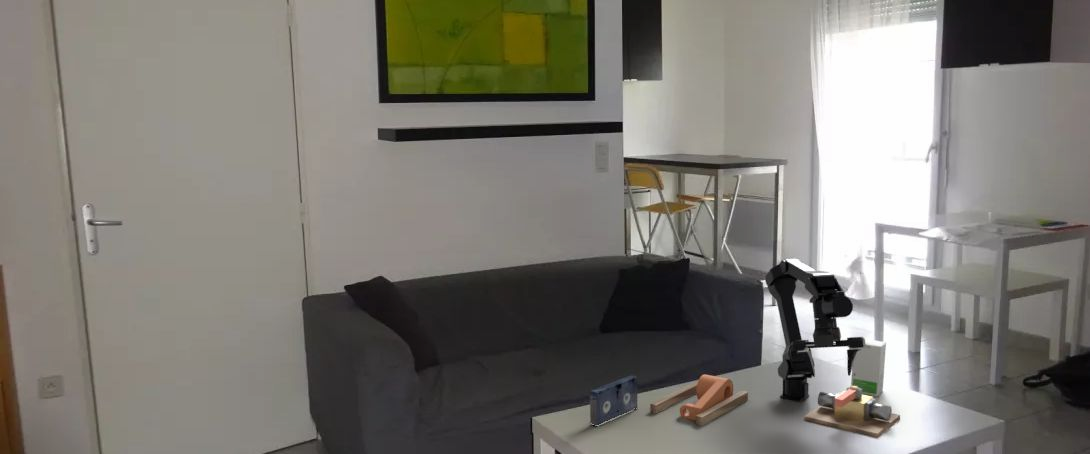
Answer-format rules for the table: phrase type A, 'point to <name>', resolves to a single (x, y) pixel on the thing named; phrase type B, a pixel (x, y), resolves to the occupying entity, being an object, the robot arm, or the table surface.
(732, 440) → the table surface
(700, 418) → the pair of wooden rails
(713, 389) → the crank
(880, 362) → the skincare box
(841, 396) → the lever
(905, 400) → the table surface
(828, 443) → the table surface
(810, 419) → the board
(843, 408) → the valve
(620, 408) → the vhs cassette tape
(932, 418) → the table surface
